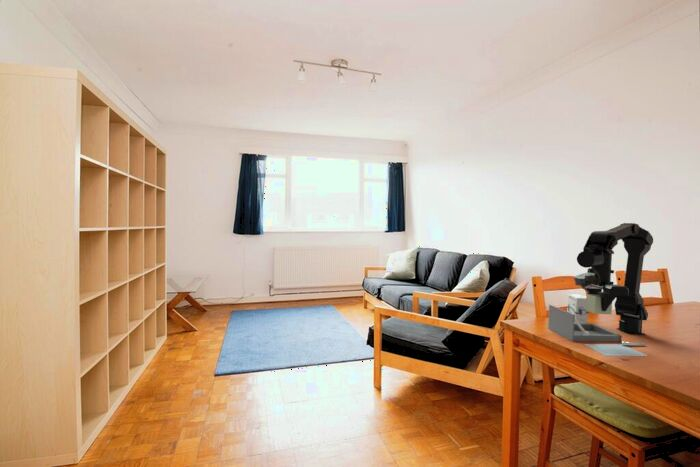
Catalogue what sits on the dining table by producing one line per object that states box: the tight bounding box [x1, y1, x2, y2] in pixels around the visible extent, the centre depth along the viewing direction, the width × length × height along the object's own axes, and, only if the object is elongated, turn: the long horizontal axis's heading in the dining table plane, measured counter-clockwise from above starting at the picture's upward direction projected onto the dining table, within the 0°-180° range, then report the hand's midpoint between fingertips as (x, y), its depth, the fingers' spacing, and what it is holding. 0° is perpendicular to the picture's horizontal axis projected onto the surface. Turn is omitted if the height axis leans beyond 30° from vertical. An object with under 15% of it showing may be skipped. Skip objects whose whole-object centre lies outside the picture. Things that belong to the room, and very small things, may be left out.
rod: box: [620, 341, 647, 347], centre depth 118 cm, size 8×1×1 cm, turn 91°
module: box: [586, 293, 613, 315], centre depth 122 cm, size 6×4×6 cm
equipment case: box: [547, 304, 622, 343], centre depth 129 cm, size 18×14×10 cm
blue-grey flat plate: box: [583, 343, 648, 357], centre depth 114 cm, size 14×10×1 cm
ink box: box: [566, 293, 589, 324], centre depth 145 cm, size 9×5×12 cm, turn 168°
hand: (598, 309), depth 122 cm, fingers closed on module, 4 cm apart
